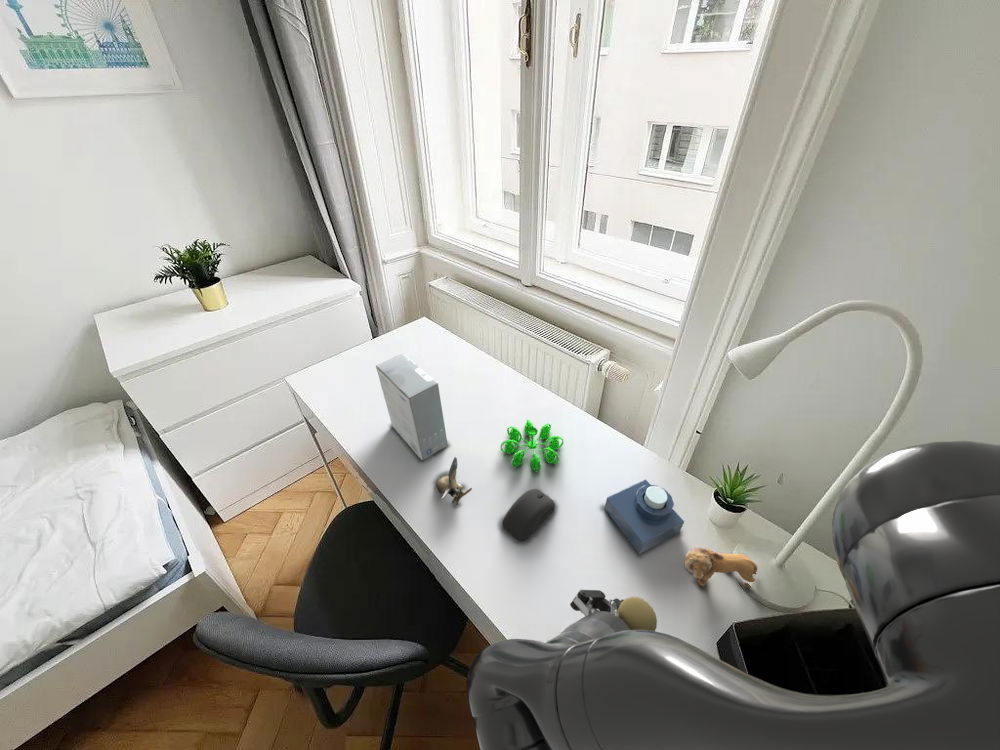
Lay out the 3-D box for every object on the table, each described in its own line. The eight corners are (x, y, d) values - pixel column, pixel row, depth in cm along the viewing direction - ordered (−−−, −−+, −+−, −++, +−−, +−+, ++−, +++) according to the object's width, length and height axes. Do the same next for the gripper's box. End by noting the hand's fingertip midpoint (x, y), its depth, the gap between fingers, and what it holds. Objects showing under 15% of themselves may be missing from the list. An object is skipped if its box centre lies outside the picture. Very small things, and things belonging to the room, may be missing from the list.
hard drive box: (449, 445, 100) (439, 383, 87) (422, 461, 96) (408, 400, 83) (416, 412, 109) (403, 351, 96) (390, 425, 105) (373, 365, 93)
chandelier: (487, 454, 97) (486, 434, 93) (525, 419, 106) (526, 399, 102) (538, 487, 90) (540, 467, 85) (575, 446, 98) (578, 427, 94)
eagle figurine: (481, 491, 88) (463, 458, 93) (464, 486, 82) (447, 451, 87) (454, 512, 89) (438, 478, 94) (436, 509, 83) (420, 472, 88)
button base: (681, 531, 81) (689, 514, 77) (639, 554, 78) (645, 538, 74) (643, 489, 89) (649, 472, 85) (604, 508, 85) (608, 491, 81)
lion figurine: (682, 596, 72) (697, 572, 66) (670, 566, 76) (683, 541, 70) (763, 587, 72) (784, 563, 67) (746, 558, 76) (765, 533, 71)
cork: (650, 635, 63) (667, 604, 56) (639, 676, 59) (656, 647, 52) (612, 614, 65) (624, 581, 58) (599, 651, 61) (610, 621, 54)
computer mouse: (557, 507, 86) (558, 496, 83) (522, 544, 80) (522, 534, 77) (534, 490, 89) (535, 478, 87) (499, 524, 83) (498, 513, 80)
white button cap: (669, 504, 79) (672, 498, 78) (653, 512, 78) (655, 506, 77) (655, 489, 82) (657, 482, 81) (639, 496, 81) (641, 490, 80)
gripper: (669, 691, 41) (698, 645, 55) (565, 580, 50) (611, 564, 63) (628, 746, 42) (666, 687, 55) (532, 628, 51) (585, 602, 64)
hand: (637, 622), depth 59 cm, fingers closed on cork, 5 cm apart
